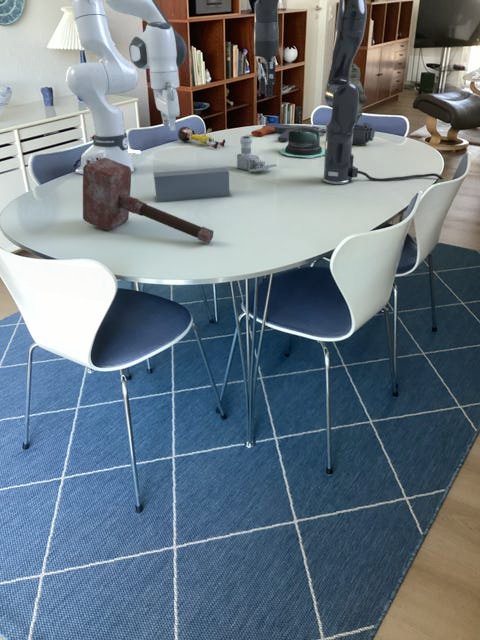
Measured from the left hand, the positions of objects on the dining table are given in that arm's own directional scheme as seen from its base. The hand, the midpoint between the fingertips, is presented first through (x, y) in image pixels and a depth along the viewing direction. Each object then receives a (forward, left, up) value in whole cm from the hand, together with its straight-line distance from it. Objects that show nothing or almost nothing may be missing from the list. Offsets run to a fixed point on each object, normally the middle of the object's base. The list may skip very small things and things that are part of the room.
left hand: (169, 128), depth 178 cm
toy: (+48, +88, -22) cm, 102 cm away
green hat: (+29, +67, -22) cm, 77 cm away
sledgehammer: (+8, -34, -22) cm, 42 cm away
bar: (+7, 0, -22) cm, 23 cm away
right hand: (+28, +14, +9) cm, 33 cm away
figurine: (-20, +70, -22) cm, 76 cm away
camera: (+17, +36, -22) cm, 45 cm away
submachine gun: (+14, +96, -22) cm, 99 cm away
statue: (+43, +114, -22) cm, 124 cm away
